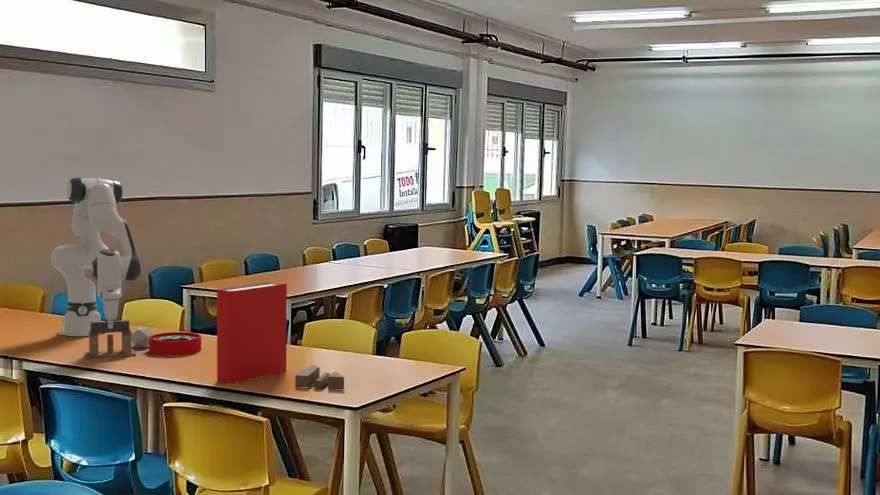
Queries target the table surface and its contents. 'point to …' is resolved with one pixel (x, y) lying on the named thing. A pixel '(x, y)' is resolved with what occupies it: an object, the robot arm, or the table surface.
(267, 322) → the book
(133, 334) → the die
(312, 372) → the wooden block set
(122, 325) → the frame bar
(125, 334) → the stand
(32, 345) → the table surface
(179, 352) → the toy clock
